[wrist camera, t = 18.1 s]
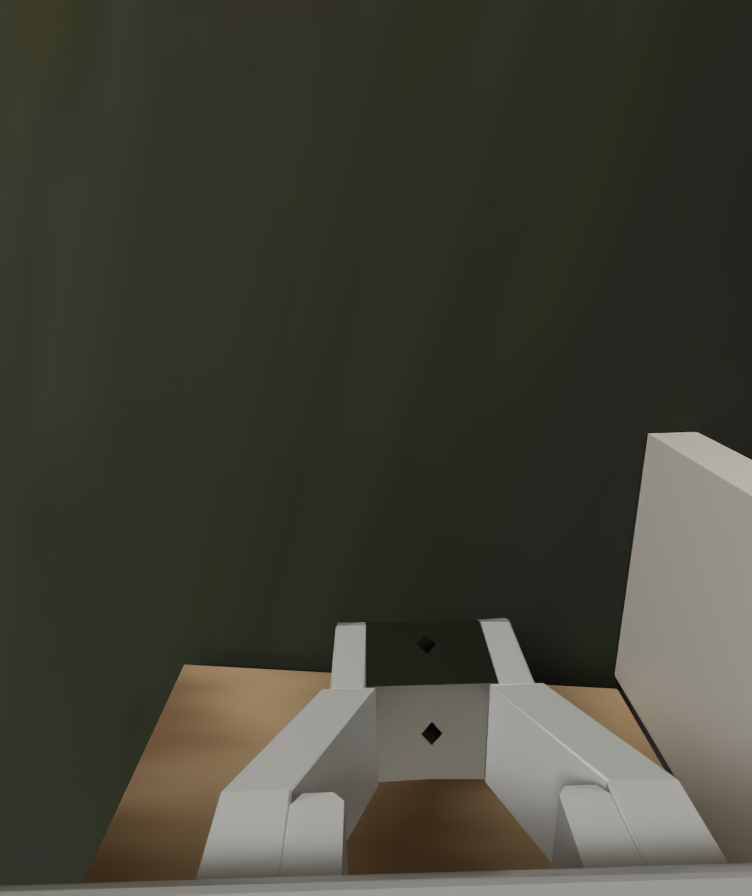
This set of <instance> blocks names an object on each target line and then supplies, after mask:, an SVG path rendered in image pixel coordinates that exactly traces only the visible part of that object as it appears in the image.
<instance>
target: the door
mask: <svg viewBox="0 0 752 896" xmlns="http://www.w3.org/2000/svg"><path fill="white" fill-rule="evenodd" d="M331 674H332V673H324V672H307V671H289V670H271V669H253V668H235V667H217V666H200V665H184V666H183V669H182V671H181V673H180V675H179V677H178V679H177V681H176V684H175V686H174V688H173V690H172V692H171V694H170V697H169V699H168V701H167V703H166V705H165V707H164V709H163V712H162V714H161V716H160V718H159V720H158V722H157V725H156V727H155V729H154V731H153V733H152V735H151V738H150V740H149V742H148V744H147V746H146V748H145V750H144V753H143V755H142V757H141V759H140V761H139V763H138V766H137V768H136V770H135V772H134V774H133V776H132V778H131V781H130V783H129V785H128V787H127V789H126V791H125V794H124V796H123V798H122V800H121V802H120V804H119V806H118V809H117V811H116V813H115V815H114V817H113V819H112V822H111V824H110V826H109V828H108V830H107V832H106V834H105V837H104V839H103V841H102V843H101V845H100V847H99V850H98V852H97V854H96V856H95V858H94V860H93V862H92V865H91V867H90V869H89V871H88V873H87V875H86V878H85V880H84V882H83V883H97V882H133V881H168V880H196V877H197V874H198V870H199V867H200V863H201V860H202V856H203V853H204V849H205V846H206V842H207V839H208V835H209V832H210V828H211V825H212V822H213V818H214V815H215V811H216V808H217V804H218V801H219V797H220V794H221V792H222V791H223V790H224V789H225V788H226V787H227V786H228V785H229V784H230V783H231V782H232V781H233V780H234V778H235V777H236V776H237V775H238V774H239V773H240V772H241V771H242V770H243V769H244V768H245V767H246V766H247V765H248V764H249V763H250V762H251V761H252V760H253V759H254V758H255V757H256V756H257V755H258V754H259V753H260V752H261V751H262V750H263V749H264V748H265V747H266V746H267V745H268V744H269V743H270V742H271V741H272V740H273V738H274V737H275V736H276V735H277V734H278V733H279V732H280V731H281V730H282V729H283V728H284V727H285V726H286V725H287V724H288V723H289V722H290V721H291V720H292V719H293V718H294V717H295V716H296V715H297V714H298V713H299V712H300V711H301V710H302V709H303V708H304V707H305V706H306V705H307V704H308V703H309V702H310V701H311V700H312V699H313V697H314V696H315V695H316V694H317V693H318V692H319V691H320V690H322V689H330V685H331ZM547 686H548V687H550V688H551V689H553V690H554V691H555V692H557V693H558V694H559V695H561V696H562V697H564V698H565V699H566V700H568V701H569V702H571V703H572V704H573V705H575V706H576V707H578V708H579V709H580V710H582V711H583V712H584V713H586V714H587V715H589V716H590V717H591V718H593V719H594V720H596V721H597V722H598V723H600V724H601V725H603V726H604V727H605V728H607V729H608V730H609V731H611V732H612V733H614V734H615V735H616V736H618V737H619V738H621V739H622V740H623V741H625V742H626V743H628V744H629V745H630V746H632V747H633V748H634V749H636V750H637V751H639V752H640V753H641V754H643V755H644V756H646V757H647V758H648V759H650V760H651V761H653V762H654V763H655V764H657V765H658V766H659V767H661V768H662V769H664V768H663V766H662V765H661V763H660V761H659V760H658V758H657V756H656V754H655V753H654V751H653V749H652V748H651V746H650V744H649V742H648V741H647V739H646V737H645V736H644V734H643V732H642V730H641V729H640V727H639V725H638V724H637V722H636V720H635V718H634V717H633V715H632V713H631V712H630V710H629V708H628V706H627V705H626V703H625V701H624V700H623V698H622V696H621V694H620V693H619V691H618V689H609V688H592V687H574V686H556V685H547ZM346 844H347V863H348V875H362V874H395V873H429V872H462V871H496V870H531V869H551V862H550V860H549V859H548V858H547V857H546V855H545V854H544V853H543V852H542V851H541V849H540V848H539V847H538V846H537V844H536V843H535V842H534V841H533V840H532V838H531V837H530V836H529V835H528V833H527V832H526V831H525V830H524V829H523V827H522V826H521V825H520V824H519V823H518V821H517V820H516V819H515V818H514V816H513V815H512V814H511V813H510V812H509V810H508V809H507V808H506V807H505V805H504V804H503V803H502V802H501V801H500V799H499V798H498V797H497V796H496V794H495V793H494V792H493V791H492V790H491V788H490V787H489V786H488V785H487V783H486V782H485V779H421V780H404V781H387V782H378V787H377V789H376V791H375V792H374V794H373V796H372V798H371V799H370V801H369V803H368V805H367V806H366V808H365V810H364V812H363V813H362V815H361V817H360V819H359V821H358V822H357V824H356V826H355V828H354V829H353V831H352V833H351V835H350V836H349V838H348V840H347V842H346Z"/></svg>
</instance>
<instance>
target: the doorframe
mask: <svg viewBox="0 0 752 896" xmlns="http://www.w3.org/2000/svg"><path fill="white" fill-rule="evenodd" d="M615 677H616V679H617V680H618V682H619V684H620V685H621V687H622V689H621V690H620V692H619V693H620V694H621V696H622V698H623V700H624V701H625V703H626V705H627V706H628V708H629V710H630V712H631V713H632V715H633V717H634V718H635V720H636V722H637V724H638V725H639V727H640V729H641V730H642V732H643V734H644V736H645V737H646V739H647V741H648V742H649V744H650V746H651V748H652V749H653V751H654V753H655V754H656V756H657V758H658V760H659V761H660V763H661V765H662V766H663V768H664V770H665V771H666V772H668V773H669V774H671V775H672V776H673V777H675V778H676V779H678V780H679V782H680V783H681V785H682V787H683V788H684V790H685V792H686V793H687V795H688V797H689V798H690V800H691V802H692V803H693V805H694V807H695V808H696V810H697V812H698V813H699V815H700V817H701V818H702V820H703V822H704V823H705V825H706V827H707V828H708V830H709V831H710V833H711V835H712V836H713V838H714V840H715V841H716V843H717V845H718V846H719V848H720V850H721V851H722V853H723V855H724V856H725V858H726V860H727V861H728V863H729V864H733V863H752V460H751V459H749V458H747V457H745V456H743V455H741V454H739V453H737V452H735V451H733V450H731V449H729V448H727V447H725V446H723V445H721V444H720V443H718V442H716V441H714V440H712V439H710V438H708V437H706V436H704V435H702V434H700V433H698V432H679V433H648V438H647V446H646V453H645V460H644V467H643V474H642V481H641V489H640V496H639V503H638V510H637V517H636V525H635V532H634V539H633V546H632V553H631V561H630V568H629V575H628V582H627V589H626V597H625V604H624V611H623V618H622V625H621V633H620V640H619V647H618V654H617V661H616V669H615Z"/></svg>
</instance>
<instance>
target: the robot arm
mask: <svg viewBox="0 0 752 896" xmlns="http://www.w3.org/2000/svg"><path fill="white" fill-rule="evenodd" d="M421 779H485V782H486V783H487V785H488V786H489V787H490V788H491V790H492V791H493V792H494V793H495V794H496V796H497V797H498V798H499V799H500V801H501V802H502V803H503V804H504V805H505V807H506V808H507V809H508V810H509V812H510V813H511V814H512V815H513V816H514V818H515V819H516V820H517V821H518V823H519V824H520V825H521V826H522V827H523V829H524V830H525V831H526V832H527V833H528V835H529V836H530V837H531V838H532V840H533V841H534V842H535V843H536V844H537V846H538V847H539V848H540V849H541V851H542V852H543V853H544V854H545V855H546V857H547V858H548V859H549V860H550V862H551V869H531V870H496V871H462V872H429V873H395V874H362V875H348V863H347V844H346V842H347V840H348V838H349V836H350V835H351V833H352V831H353V829H354V828H355V826H356V824H357V822H358V821H359V819H360V817H361V815H362V813H363V812H364V810H365V808H366V806H367V805H368V803H369V801H370V799H371V798H372V796H373V794H374V792H375V791H376V789H377V787H378V782H387V781H404V780H421ZM0 896H752V863H733V864H729V863H728V861H727V860H726V858H725V856H724V855H723V853H722V851H721V850H720V848H719V846H718V845H717V843H716V841H715V840H714V838H713V836H712V835H711V833H710V831H709V830H708V828H707V827H706V825H705V823H704V822H703V820H702V818H701V817H700V815H699V813H698V812H697V810H696V808H695V807H694V805H693V803H692V802H691V800H690V798H689V797H688V795H687V793H686V792H685V790H684V788H683V787H682V785H681V783H680V782H679V780H678V779H676V778H675V777H673V776H672V775H671V774H669V773H668V772H666V771H665V770H664V769H662V768H661V767H659V766H658V765H657V764H655V763H654V762H653V761H651V760H650V759H648V758H647V757H646V756H644V755H643V754H641V753H640V752H639V751H637V750H636V749H634V748H633V747H632V746H630V745H629V744H628V743H626V742H625V741H623V740H622V739H621V738H619V737H618V736H616V735H615V734H614V733H612V732H611V731H609V730H608V729H607V728H605V727H604V726H603V725H601V724H600V723H598V722H597V721H596V720H594V719H593V718H591V717H590V716H589V715H587V714H586V713H584V712H583V711H582V710H580V709H579V708H578V707H576V706H575V705H573V704H572V703H571V702H569V701H568V700H566V699H565V698H564V697H562V696H561V695H559V694H558V693H557V692H555V691H554V690H553V689H551V688H550V687H548V686H547V685H546V684H544V683H534V680H533V678H532V675H531V673H530V670H529V668H528V665H527V663H526V660H525V658H524V655H523V653H522V651H521V648H520V646H519V643H518V641H517V638H516V636H515V633H514V631H513V628H512V626H511V623H510V621H509V620H508V619H506V618H496V619H479V620H477V621H450V622H367V627H366V623H365V622H356V623H338V624H337V626H336V631H335V642H334V652H333V663H332V674H331V685H330V689H322V690H320V691H319V692H318V693H317V694H316V695H315V696H314V697H313V699H312V700H311V701H310V702H309V703H308V704H307V705H306V706H305V707H304V708H303V709H302V710H301V711H300V712H299V713H298V714H297V715H296V716H295V717H294V718H293V719H292V720H291V721H290V722H289V723H288V724H287V725H286V726H285V727H284V728H283V729H282V730H281V731H280V732H279V733H278V734H277V735H276V736H275V737H274V738H273V740H272V741H271V742H270V743H269V744H268V745H267V746H266V747H265V748H264V749H263V750H262V751H261V752H260V753H259V754H258V755H257V756H256V757H255V758H254V759H253V760H252V761H251V762H250V763H249V764H248V765H247V766H246V767H245V768H244V769H243V770H242V771H241V772H240V773H239V774H238V775H237V776H236V777H235V778H234V780H233V781H232V782H231V783H230V784H229V785H228V786H227V787H226V788H225V789H224V790H223V791H222V792H221V794H220V797H219V801H218V804H217V808H216V811H215V815H214V818H213V822H212V825H211V828H210V832H209V835H208V839H207V842H206V846H205V849H204V853H203V856H202V860H201V863H200V867H199V870H198V874H197V877H196V880H168V881H133V882H97V883H62V884H29V885H0Z"/></svg>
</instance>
